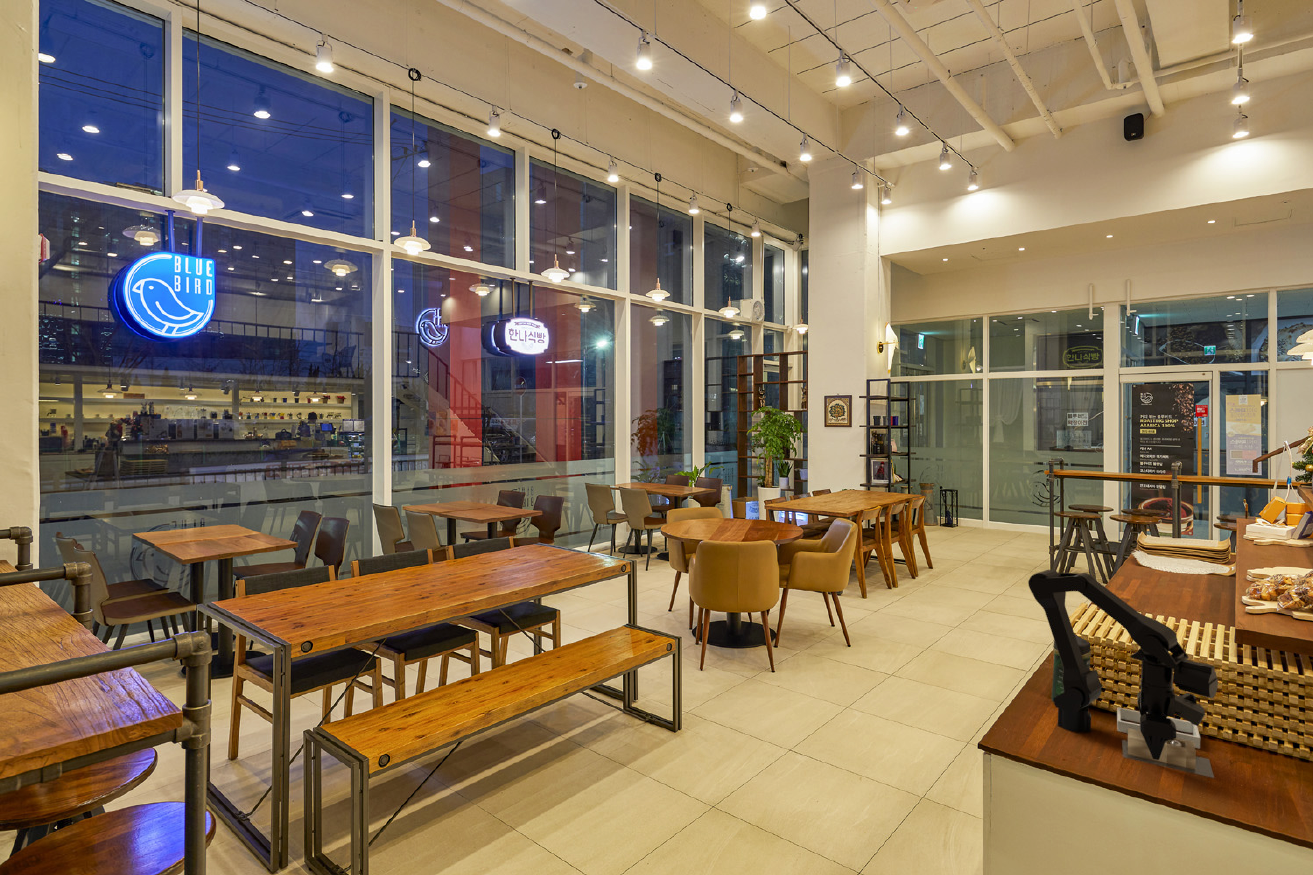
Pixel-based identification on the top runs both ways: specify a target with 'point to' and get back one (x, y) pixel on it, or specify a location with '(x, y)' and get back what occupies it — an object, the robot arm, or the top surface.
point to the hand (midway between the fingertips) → (1154, 750)
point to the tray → (1179, 724)
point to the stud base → (1200, 767)
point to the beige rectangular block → (1169, 754)
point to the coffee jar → (1058, 667)
